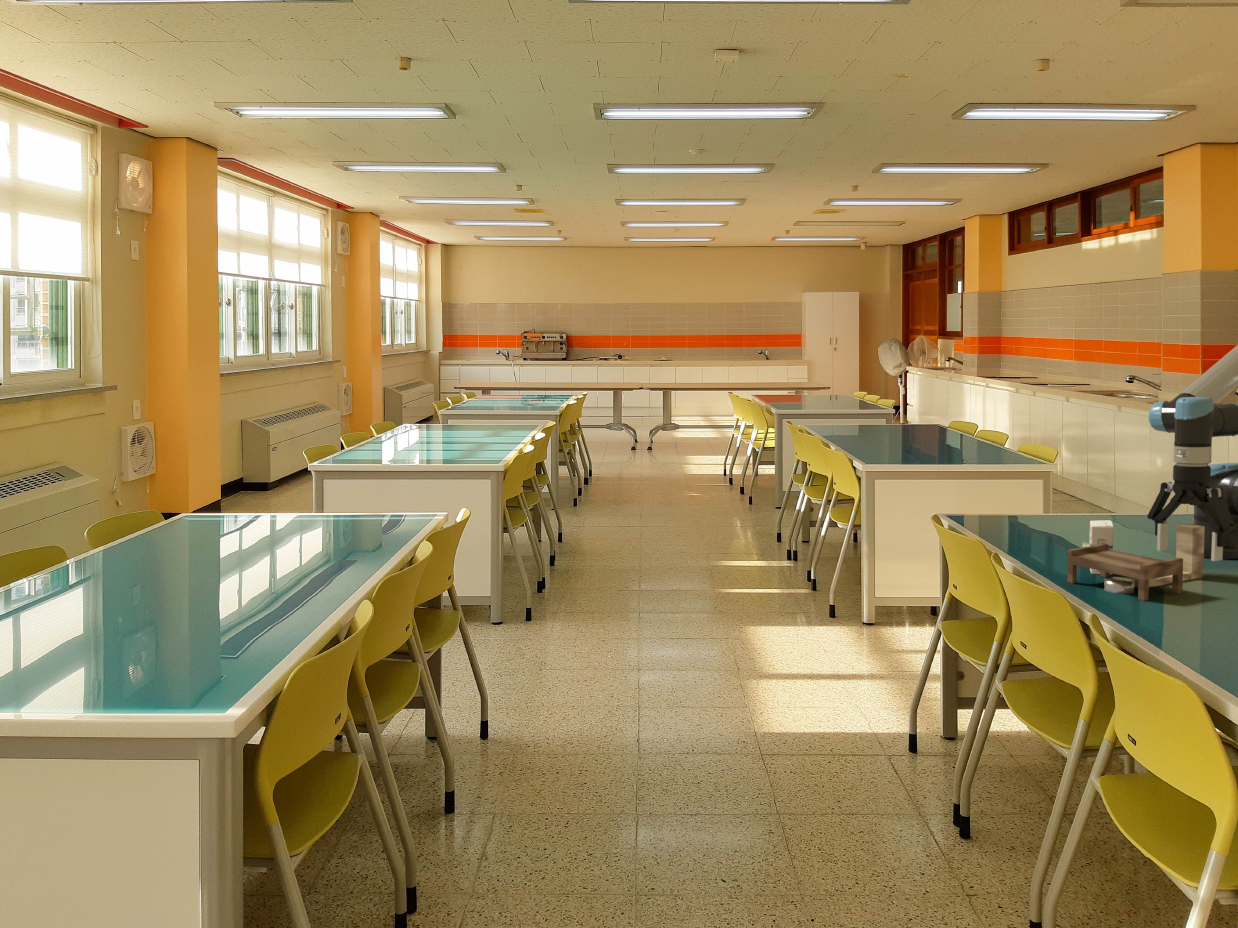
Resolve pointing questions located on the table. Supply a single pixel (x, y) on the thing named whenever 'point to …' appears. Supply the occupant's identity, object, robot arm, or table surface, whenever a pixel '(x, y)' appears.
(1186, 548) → the bookend
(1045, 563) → the table surface
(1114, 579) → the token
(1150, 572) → the riser
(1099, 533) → the ink box
